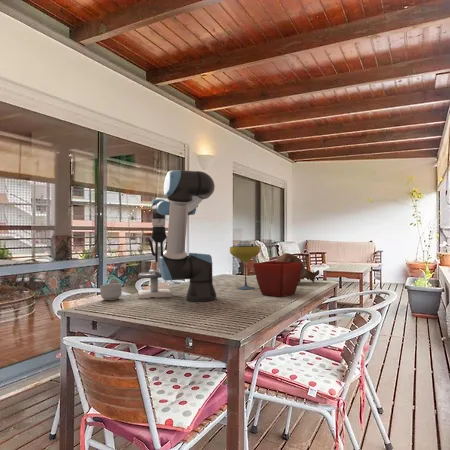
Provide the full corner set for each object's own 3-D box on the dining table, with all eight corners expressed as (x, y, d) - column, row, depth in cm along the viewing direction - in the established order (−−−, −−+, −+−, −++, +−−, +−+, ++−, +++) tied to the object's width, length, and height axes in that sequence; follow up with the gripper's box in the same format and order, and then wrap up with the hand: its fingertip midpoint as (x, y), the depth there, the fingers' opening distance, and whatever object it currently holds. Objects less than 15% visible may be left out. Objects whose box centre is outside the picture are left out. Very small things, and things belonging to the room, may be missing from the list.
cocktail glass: (262, 290, 219) (260, 246, 220) (230, 290, 219) (229, 247, 220) (259, 286, 237) (258, 245, 238) (230, 286, 237) (229, 246, 238)
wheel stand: (171, 296, 204) (171, 277, 204) (138, 298, 200) (138, 279, 200) (168, 292, 221) (168, 274, 221) (138, 293, 217) (138, 276, 217)
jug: (270, 285, 238) (318, 292, 237) (275, 255, 234) (324, 262, 233) (268, 275, 258) (313, 282, 257) (273, 247, 254) (318, 254, 253)
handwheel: (170, 277, 204) (169, 263, 204) (137, 278, 201) (137, 264, 201) (169, 274, 220) (169, 261, 221) (139, 275, 218) (138, 262, 218)
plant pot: (304, 293, 201) (303, 261, 202) (283, 298, 187) (282, 264, 188) (274, 291, 214) (273, 261, 215) (253, 295, 200) (252, 263, 201)
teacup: (115, 301, 192) (115, 285, 193) (95, 301, 195) (95, 285, 195) (128, 297, 206) (127, 282, 206) (109, 297, 208) (109, 282, 208)
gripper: (147, 226, 213) (147, 268, 212) (171, 226, 217) (172, 267, 216) (146, 226, 221) (146, 267, 220) (169, 226, 224) (170, 266, 223)
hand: (159, 267), depth 218 cm, fingers closed
